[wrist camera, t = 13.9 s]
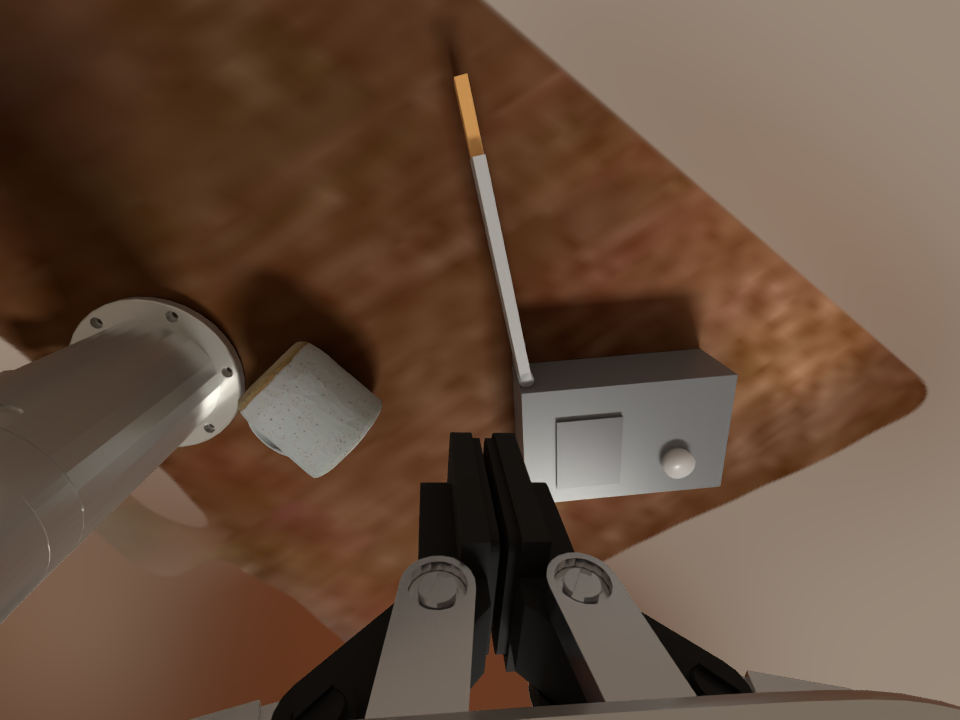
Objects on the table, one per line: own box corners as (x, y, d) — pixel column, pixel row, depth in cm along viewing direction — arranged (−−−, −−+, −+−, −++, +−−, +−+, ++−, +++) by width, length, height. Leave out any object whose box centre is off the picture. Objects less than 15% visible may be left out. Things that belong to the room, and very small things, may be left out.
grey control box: (516, 465, 42) (527, 511, 36) (512, 365, 38) (523, 398, 32) (694, 448, 42) (733, 491, 37) (706, 347, 39) (752, 378, 33)
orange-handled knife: (525, 362, 38) (535, 385, 34) (512, 365, 38) (520, 388, 34) (467, 83, 30) (470, 68, 26) (451, 87, 30) (451, 73, 26)
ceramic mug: (312, 321, 36) (276, 358, 29) (390, 387, 38) (375, 436, 31) (232, 406, 38) (181, 459, 31) (310, 463, 41) (280, 524, 34)
